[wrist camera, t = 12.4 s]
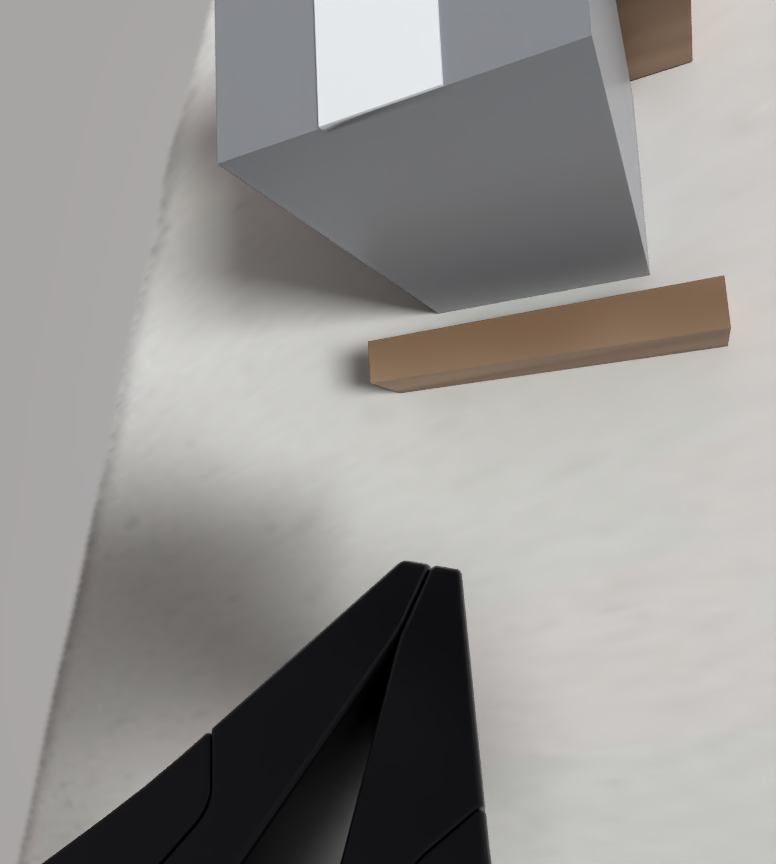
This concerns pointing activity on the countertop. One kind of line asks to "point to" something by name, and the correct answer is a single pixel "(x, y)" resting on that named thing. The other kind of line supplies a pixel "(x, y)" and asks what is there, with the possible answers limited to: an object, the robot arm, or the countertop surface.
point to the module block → (441, 137)
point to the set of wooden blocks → (585, 321)
